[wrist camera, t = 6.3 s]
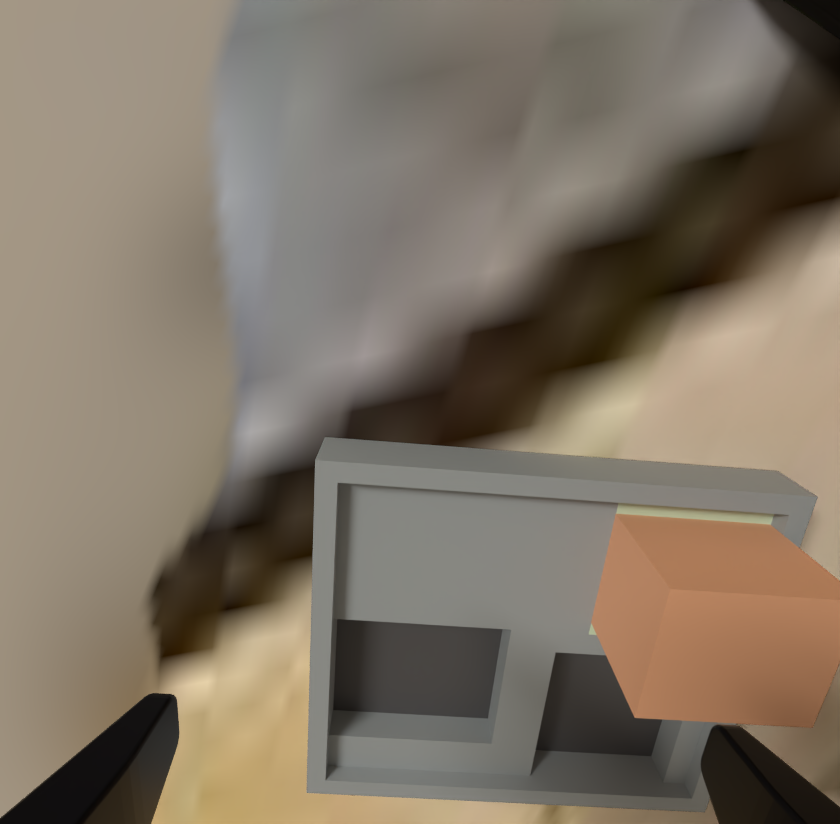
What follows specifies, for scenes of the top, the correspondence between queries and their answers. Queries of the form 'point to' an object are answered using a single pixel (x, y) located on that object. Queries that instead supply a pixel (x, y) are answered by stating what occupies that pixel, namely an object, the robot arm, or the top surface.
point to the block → (717, 622)
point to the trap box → (495, 623)
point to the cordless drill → (821, 13)
